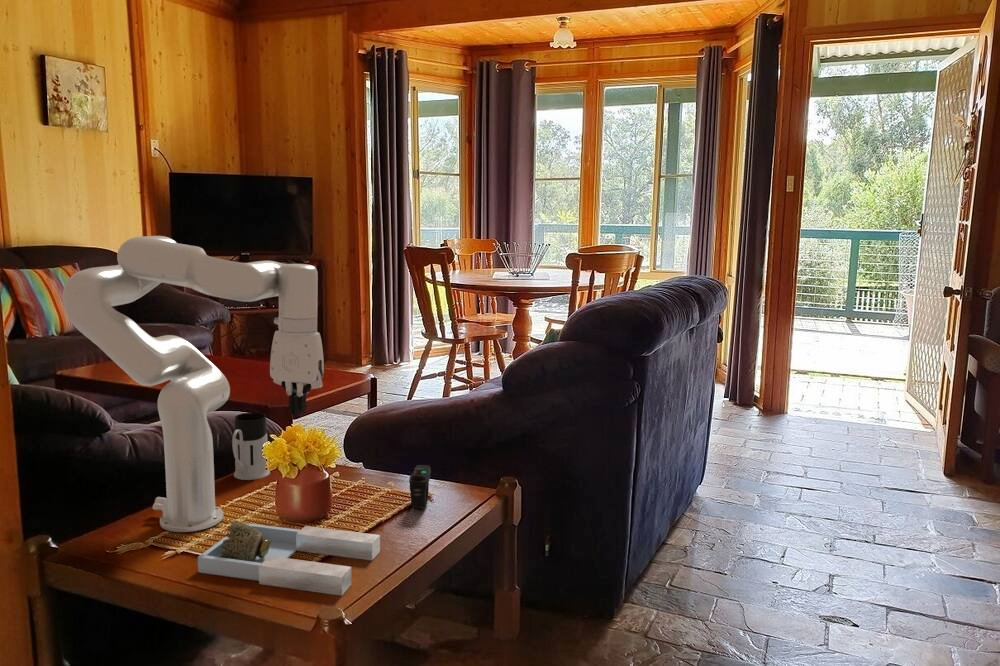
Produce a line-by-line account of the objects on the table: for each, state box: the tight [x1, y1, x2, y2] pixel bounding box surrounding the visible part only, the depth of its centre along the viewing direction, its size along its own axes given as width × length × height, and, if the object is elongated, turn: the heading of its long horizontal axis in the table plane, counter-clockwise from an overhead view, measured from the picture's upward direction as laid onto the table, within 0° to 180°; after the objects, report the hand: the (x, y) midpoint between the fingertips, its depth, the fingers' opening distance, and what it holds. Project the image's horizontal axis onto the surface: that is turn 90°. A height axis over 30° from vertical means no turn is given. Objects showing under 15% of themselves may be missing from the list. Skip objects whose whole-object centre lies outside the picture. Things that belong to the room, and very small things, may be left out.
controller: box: [408, 464, 432, 509], centre depth 173 cm, size 4×12×10 cm, turn 179°
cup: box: [220, 520, 270, 561], centre depth 144 cm, size 8×7×8 cm
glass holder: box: [231, 412, 271, 481], centre depth 187 cm, size 9×14×15 cm, turn 174°
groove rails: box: [258, 525, 381, 597], centre depth 142 cm, size 16×18×4 cm
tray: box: [197, 522, 301, 582], centre depth 145 cm, size 13×16×3 cm
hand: (297, 413), depth 155 cm, fingers closed
